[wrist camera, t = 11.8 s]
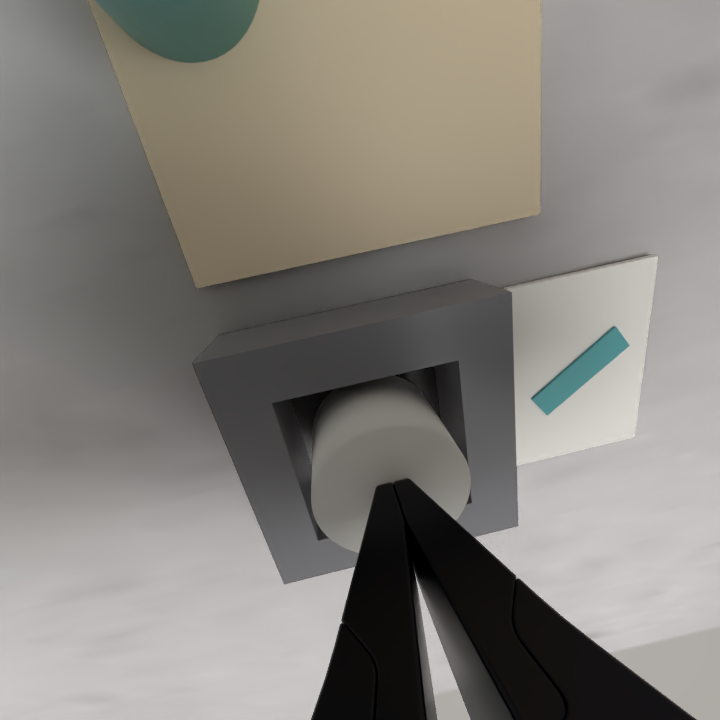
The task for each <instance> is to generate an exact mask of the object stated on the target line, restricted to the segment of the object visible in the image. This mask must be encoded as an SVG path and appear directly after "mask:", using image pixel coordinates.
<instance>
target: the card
mask: <svg viewBox="0 0 720 720" xmlns="http://www.w3.org/2000/svg"><path fill="white" fill-rule="evenodd" d="M658 257H659V256H656V255H648V256H643V257H639V258H634V259H630V260H626V261H621V262H617V263H612V264H608V265H603V266H599V267H594V268H590V269H585V270H581V271H576V272H572V273H567V274H563V275H558V276H554V277H549V278H545V279H540V280H536V281H531V282H527V283H522V284H518V285H513V286H509V287H504V288H503V289H504V290H507V291H510V292H512V313H513V351H514V389H515V427H516V464H517V466H518V465H522V464H527V463H531V462H535V461H539V460H543V459H547V458H551V457H555V456H560V455H564V454H568V453H572V452H576V451H580V450H584V449H588V448H592V447H597V446H601V445H605V444H609V443H613V442H617V441H621V440H625V439H630V438H634V437H635V430H636V423H637V415H638V408H639V400H640V393H641V385H642V378H643V370H644V362H645V355H646V347H647V340H648V332H649V325H650V317H651V309H652V302H653V294H654V287H655V279H656V272H657V264H658Z"/></svg>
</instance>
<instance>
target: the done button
mask: <svg viewBox="0 0 720 720" xmlns="http://www.w3.org/2000/svg"><path fill="white" fill-rule="evenodd" d="M406 478H409V479H411V480H412V481H413V482H414V483H415V484H416V485H417V486H418V487H420V488H421V489H422V490H423V491H424V492H425V493H426V494H427V495H428V496H429V497H430V498H432V499H433V500H434V501H435V502H436V503H437V504H438V505H439V506H440V507H441V508H443V509H444V510H445V511H446V512H447V513H448V514H449V515H450V516H451V517H452V518H453V519H455V520H457V519H458V517H459V516H460V514H461V513H462V511H463V510H464V508H465V505H466V503H467V501H468V497H469V494H470V488H471V476H470V470H469V467H468V464H467V461H466V459H465V458H464V456H463V454H462V452H461V451H460V449H459V448H458V446H457V445H456V443H455V442H454V440H453V438H452V437H451V435H450V434H449V432H448V431H447V429H446V428H445V426H444V424H443V423H442V421H441V420H440V418H439V417H438V415H437V414H436V412H435V410H434V409H433V407H432V406H431V404H430V403H429V401H428V400H427V398H426V397H425V395H424V394H423V393H422V391H421V390H419V389H418V388H417V387H416V386H415V385H413V384H412V383H411V382H409V381H407V380H405V379H403V378H400V377H397V376H388V377H384V378H380V379H375V380H371V381H367V382H362V383H358V384H354V385H349V386H345V387H340V388H336V389H334V390H333V391H332V392H331V393H330V394H329V395H328V396H327V397H326V398H325V399H324V401H323V402H322V403H321V405H320V407H319V409H318V411H317V413H316V416H315V419H314V424H313V446H312V483H311V505H312V511H313V515H314V517H315V520H316V522H317V524H318V526H319V527H320V529H321V530H322V531H323V532H324V533H325V535H326V536H327V537H329V538H330V539H331V540H332V541H333V542H335V543H336V544H338V545H340V546H341V547H344V548H346V549H348V550H351V551H354V552H357V553H359V550H360V546H361V543H362V539H363V535H364V531H365V527H366V523H367V519H368V516H369V512H370V508H371V504H372V500H373V496H374V492H375V489H376V487H377V486H378V485H381V484H385V483H389V482H391V483H392V484H393V483H394V482H395V481H397V480H402V479H406Z"/></svg>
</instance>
